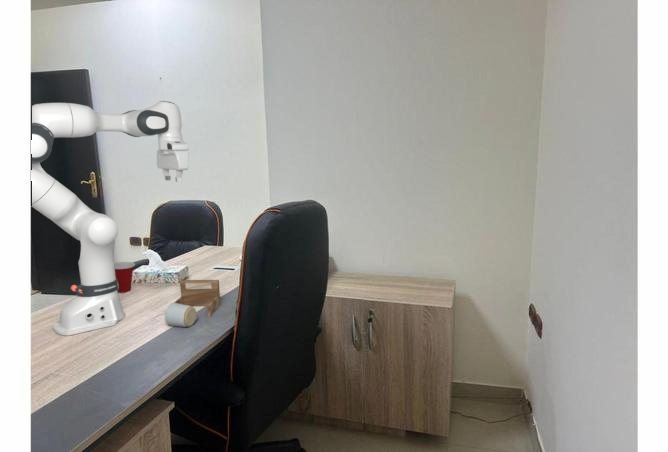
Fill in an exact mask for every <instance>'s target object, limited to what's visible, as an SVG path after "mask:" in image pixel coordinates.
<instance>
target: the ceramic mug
mask: <svg viewBox="0 0 668 452" xmlns="http://www.w3.org/2000/svg"><path fill="white" fill-rule="evenodd" d="M198 318H199V317H198V314H197V310H196V308H195V306H189V305H183V304H178V303H174V302H172V303H170V304H169V305H168V306H167V307H166V310H165V314H164V320H165V323H166V324H167V325H168V326H173V327H181V328H188V327H192V326H193V325H194V324H195V323H196V320H198Z"/></svg>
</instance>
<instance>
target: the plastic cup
mask: <svg viewBox="0 0 668 452" xmlns="http://www.w3.org/2000/svg"><path fill="white" fill-rule="evenodd" d="M135 265H136V264H135V262H133V261H132V262H131V261H117V262H116V261H115V262H114V267H115V276H116V278H117V281H118V286H119V293H118V294H122V293H123V294H124V293H127V292H130V291H131V289H132V283H133V271H134V267H135Z"/></svg>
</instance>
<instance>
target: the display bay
mask: <svg viewBox="0 0 668 452" xmlns="http://www.w3.org/2000/svg"><path fill="white" fill-rule="evenodd" d="M179 287H180V288H179V289H180V297H179V298H178V299H176V301H174V302H173V303H178V304H183V305H189V306H192V307H206V309H207V317H209V318H210V317H212V315H213V314H214V313H215V312H216V310H218V308H220V307H221V295H220V294H221V292H220V290H221V289H220V280H219V279H181V280H179Z"/></svg>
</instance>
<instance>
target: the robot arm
mask: <svg viewBox="0 0 668 452" xmlns="http://www.w3.org/2000/svg"><path fill="white" fill-rule="evenodd" d="M31 106H32V140H31V154H32V170H31V181H32V206H31V207H32V208H33V209H35V210H36V211H38V212H39V213H40V214H42V215H43V216H45V217H46V218H47V219H49V220H50V221H52V222H53V223H54V224H55V225H57V226H58V227H59V228H60V229H62V230H63V231H64V232H66V233H67V234H68V235H70V236H71V237H72V238H74V239H76V240H77V241H80V255H79V259H78V263H77V265H78V271H79V278H80V284H78V285H76V284H73V285H71V286H70V290H71V291H72V292H75V296H74V297H73V298H72V299H71V300H70V301H69V302H68V303H67V304H66V305H64V307H62V308H61V310H60V314H59V321H58V322H54V324H53V325H52V327H53V332H55V333H56V334H58V335H61V336H72V335H76V334H82V333H86V332H91V331H94V330H99V329H103V328H107V327H112V326H115V325H117V324H118V322H120V321H121V320H123V319H124V318H125V316H126V313H125V312H124V309H123V306H122V302H121V300H120V296H119V294H120V293H119V286H118V281H117V278H116V276H115V267H114V263H115V260H114V259H115V258H114V257H115V256H114V255H115V245H116V239H117V237H118V234H119V227H118V225H117V223H116V222H115V221H114V219H112V217H110V216H108V215H106V214H105V213H99V212H96V211H94V210H93V209H92V208H90V207H89V206H88V205H87V204H85V203H84V202H83V201H82V200H81V199H80V198H79V197H78V196H77V194H75V193H74V192H72V190H70V189H69V188H67V187H66V186H65V185H63V184H62V183H60V181H58V180H57V179H55V178H54V177H53V176H51V175H50V174H48V173H47V172H46V171H45V170H44V168H42V166H41V163H43V162H45V160H47V159H48V158H49V156H50V155H51V152H52V149H53V144H54V140H55V138H83V137H89V136H93V135H94V134H95V133H98V132H117V133H118V132H119V133H123V134H126V135H128V136H131V137H133V138H140V137H154V136H155V135H157V141H158V149H157V151H156V166H157V168H158V169H162V173H163V175H164V180H165V181H171V175H170V170H173V171H175V173H176V176H175V182H177V183H181V182H182V176H183V174H184V171H188V169H189V166H190V161H189V152H188V151H189V149H190V146H189V144H188V143H187V142H185V141H184V140H183V134H182V127H183V126H182V125H183V124H182V115H181V111H180V107H179V106H178V104H176V103H174V102H171V101H166V100H159V101H157V103H155V104H153V105H152V106H150V107H149V106H148V107H147V108H144V109H138V110H136V109H135V110H134V109H133V110H128V111H126V112H124V113H122V114H117V113H116V114H115V113H100V112H96V111H94V109H93V108H91V107H90V106H89V105H85V104H84V105H83V104H79V103H74V102H73V103H71V102H44V103H35V104H33V105H31Z"/></svg>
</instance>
